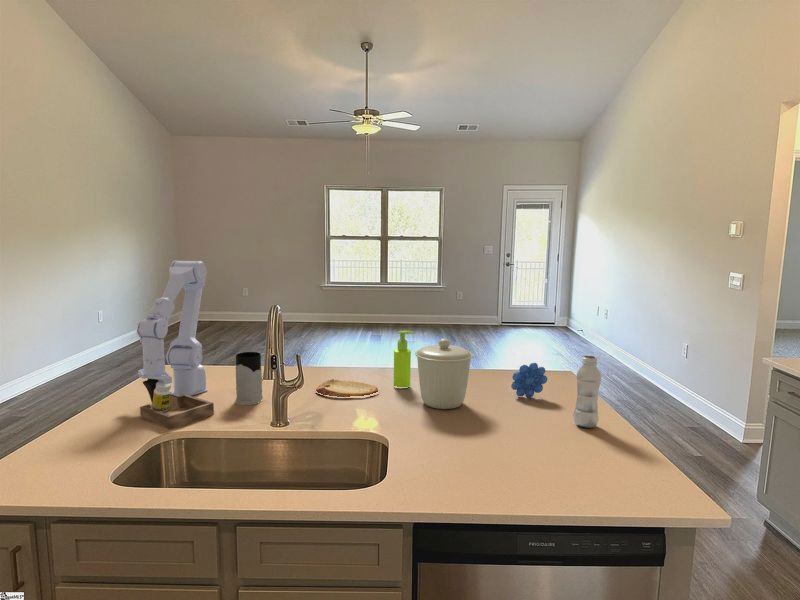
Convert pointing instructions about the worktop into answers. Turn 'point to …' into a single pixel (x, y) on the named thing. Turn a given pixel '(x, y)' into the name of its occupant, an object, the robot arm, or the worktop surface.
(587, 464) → the worktop surface
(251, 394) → the grey and black cylinder
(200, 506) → the worktop surface
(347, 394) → the slice of bread
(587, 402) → the plastic bottle
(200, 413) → the walled box
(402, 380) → the soap dispenser
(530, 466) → the worktop surface
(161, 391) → the supplement bottle
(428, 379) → the canister
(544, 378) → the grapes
